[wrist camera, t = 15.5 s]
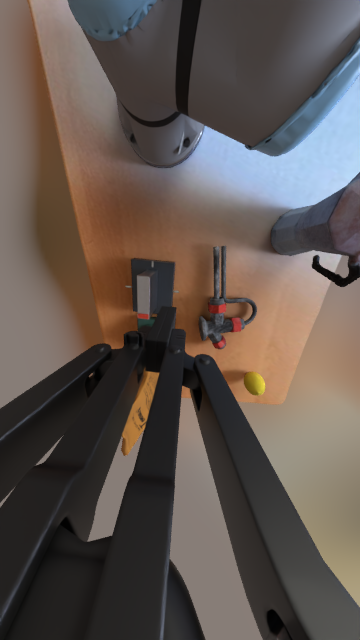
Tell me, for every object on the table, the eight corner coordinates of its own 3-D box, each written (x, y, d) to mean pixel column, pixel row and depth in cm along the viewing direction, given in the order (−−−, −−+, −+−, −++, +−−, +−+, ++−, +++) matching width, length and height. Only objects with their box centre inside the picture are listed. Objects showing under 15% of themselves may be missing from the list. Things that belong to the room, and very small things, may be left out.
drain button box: (139, 315, 47) (135, 321, 43) (167, 318, 46) (165, 324, 43) (140, 344, 51) (136, 352, 47) (166, 347, 51) (163, 355, 47)
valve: (248, 339, 49) (198, 344, 49) (255, 243, 40) (193, 248, 39) (259, 350, 43) (202, 356, 43) (270, 241, 34) (198, 247, 33)
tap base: (128, 257, 40) (124, 257, 38) (182, 262, 40) (181, 263, 38) (130, 307, 46) (126, 311, 43) (177, 312, 46) (176, 316, 43)
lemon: (257, 364, 51) (268, 384, 44) (260, 377, 53) (270, 399, 46) (239, 368, 52) (246, 388, 45) (242, 381, 54) (250, 402, 47)
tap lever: (147, 269, 39) (136, 275, 31) (157, 270, 39) (149, 277, 31) (146, 305, 43) (137, 318, 35) (156, 306, 42) (148, 320, 35)
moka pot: (320, 185, 32) (485, 110, 14) (312, 266, 38) (420, 286, 20) (269, 199, 34) (358, 146, 16) (269, 275, 40) (333, 300, 22)
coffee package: (136, 385, 58) (106, 459, 38) (127, 356, 53) (88, 424, 33) (163, 384, 57) (148, 460, 37) (158, 354, 52) (136, 424, 32)
